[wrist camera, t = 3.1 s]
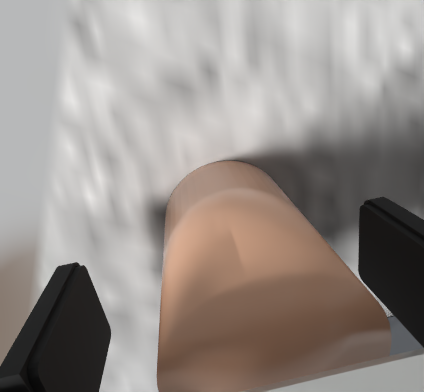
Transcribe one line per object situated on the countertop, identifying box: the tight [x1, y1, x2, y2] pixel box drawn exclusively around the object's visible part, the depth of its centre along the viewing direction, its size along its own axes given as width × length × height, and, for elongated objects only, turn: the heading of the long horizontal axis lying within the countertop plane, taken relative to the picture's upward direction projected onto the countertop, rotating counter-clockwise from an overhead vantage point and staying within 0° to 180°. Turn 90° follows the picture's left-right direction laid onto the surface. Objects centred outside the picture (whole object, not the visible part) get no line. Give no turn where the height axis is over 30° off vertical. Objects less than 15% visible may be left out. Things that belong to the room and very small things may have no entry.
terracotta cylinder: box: [157, 161, 391, 392], centre depth 10 cm, size 5×5×7 cm
